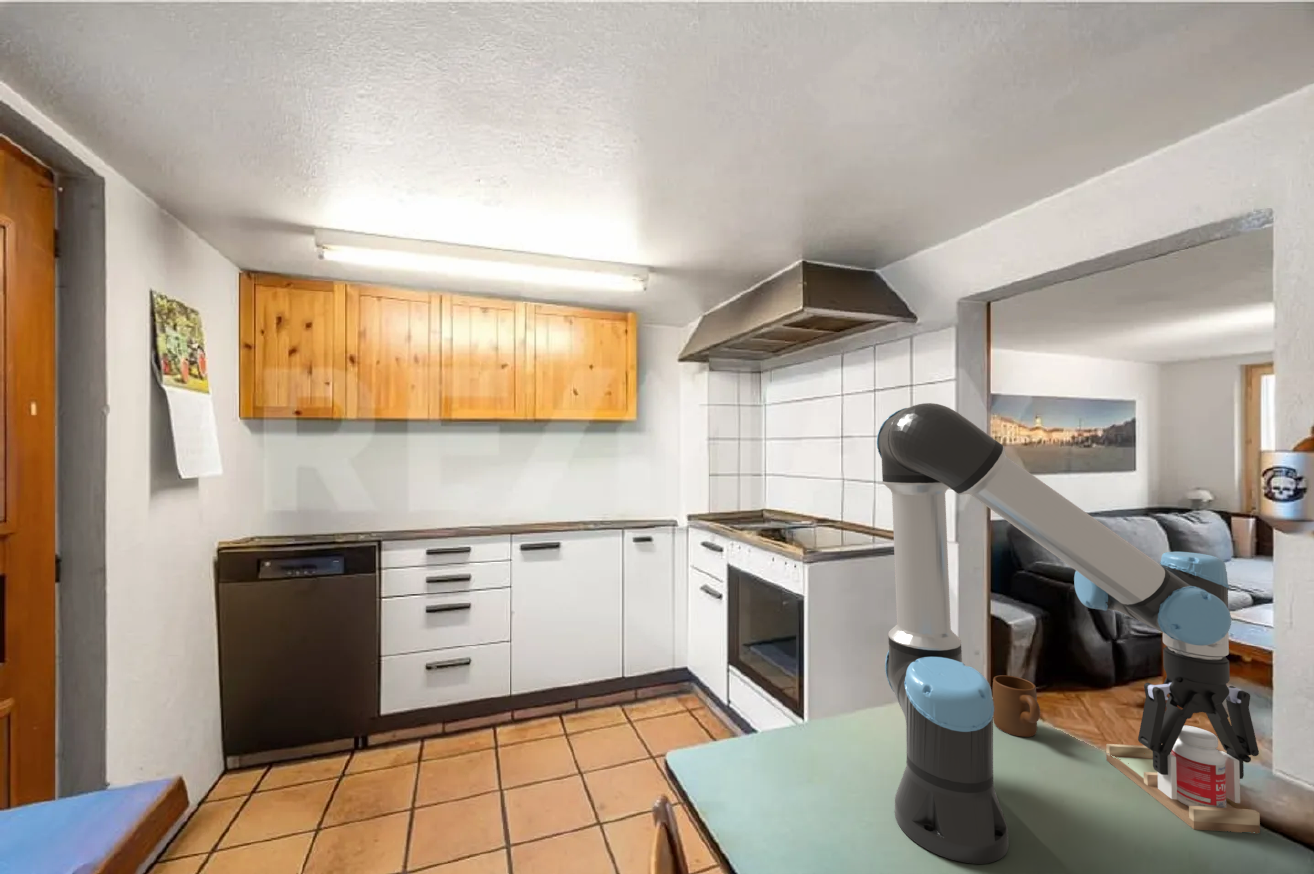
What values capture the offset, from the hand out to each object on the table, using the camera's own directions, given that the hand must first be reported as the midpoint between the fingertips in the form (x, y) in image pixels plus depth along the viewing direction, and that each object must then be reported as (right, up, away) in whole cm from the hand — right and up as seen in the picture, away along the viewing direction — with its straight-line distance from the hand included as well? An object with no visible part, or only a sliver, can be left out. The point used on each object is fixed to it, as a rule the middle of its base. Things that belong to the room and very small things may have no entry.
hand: (1198, 795), depth 87 cm
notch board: (0, -2, +4) cm, 5 cm away
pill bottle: (0, -1, 0) cm, 1 cm away
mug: (-13, -3, +23) cm, 27 cm away
